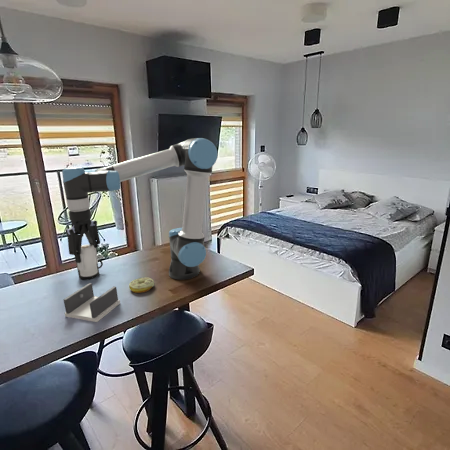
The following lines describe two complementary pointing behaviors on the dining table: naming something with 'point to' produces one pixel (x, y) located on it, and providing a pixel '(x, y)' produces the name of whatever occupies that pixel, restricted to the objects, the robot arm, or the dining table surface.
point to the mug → (90, 276)
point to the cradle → (90, 304)
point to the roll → (88, 260)
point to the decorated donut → (141, 285)
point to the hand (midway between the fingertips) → (88, 266)
